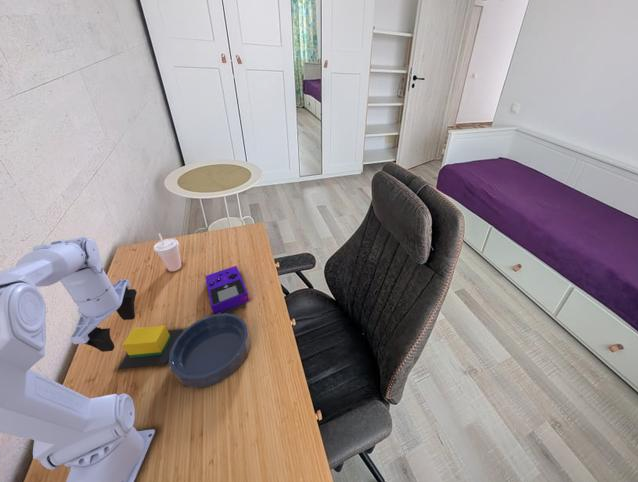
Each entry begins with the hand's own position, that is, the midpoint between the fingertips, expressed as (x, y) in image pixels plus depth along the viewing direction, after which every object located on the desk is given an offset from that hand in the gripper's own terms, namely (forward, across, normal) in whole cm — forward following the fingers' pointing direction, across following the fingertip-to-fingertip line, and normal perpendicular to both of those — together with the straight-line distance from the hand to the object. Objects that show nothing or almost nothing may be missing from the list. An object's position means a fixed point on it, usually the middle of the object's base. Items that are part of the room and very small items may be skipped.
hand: (119, 333), depth 63 cm
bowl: (+9, +1, +18) cm, 20 cm away
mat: (+9, -2, +3) cm, 10 cm away
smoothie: (+10, -31, -4) cm, 33 cm away
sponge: (+9, -2, +3) cm, 10 cm away
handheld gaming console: (+10, -18, +16) cm, 26 cm away
